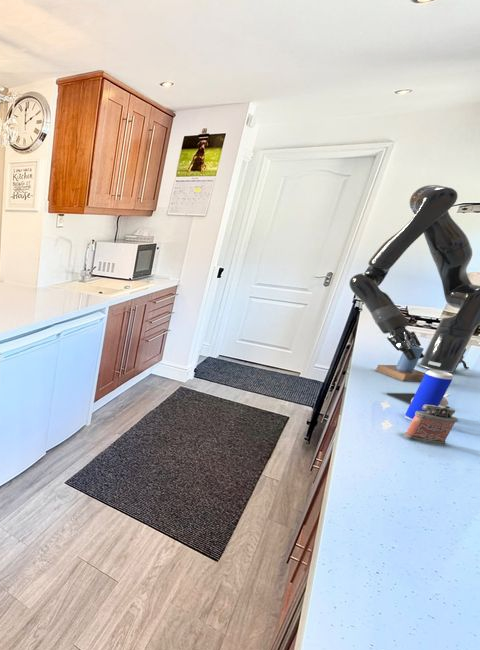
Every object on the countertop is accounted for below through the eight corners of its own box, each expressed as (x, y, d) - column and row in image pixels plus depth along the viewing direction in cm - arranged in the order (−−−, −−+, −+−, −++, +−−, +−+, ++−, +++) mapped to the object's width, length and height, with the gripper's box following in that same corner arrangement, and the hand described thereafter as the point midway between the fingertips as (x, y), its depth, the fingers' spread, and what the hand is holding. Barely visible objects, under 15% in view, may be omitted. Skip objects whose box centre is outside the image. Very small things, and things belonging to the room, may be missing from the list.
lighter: (438, 439, 107) (456, 406, 103) (447, 446, 104) (467, 412, 100) (400, 433, 109) (417, 400, 105) (408, 439, 106) (425, 406, 102)
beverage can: (417, 416, 119) (441, 369, 114) (434, 424, 115) (460, 376, 109) (399, 414, 120) (422, 368, 114) (415, 423, 115) (439, 375, 110)
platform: (399, 371, 156) (402, 365, 155) (428, 381, 147) (431, 375, 146) (375, 370, 155) (378, 364, 154) (402, 381, 146) (405, 374, 145)
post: (403, 367, 152) (413, 345, 149) (416, 372, 148) (427, 349, 145) (391, 367, 152) (402, 344, 149) (404, 372, 148) (415, 349, 144)
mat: (414, 394, 135) (414, 393, 135) (449, 408, 126) (449, 407, 125) (386, 394, 134) (387, 393, 134) (419, 408, 125) (420, 406, 125)
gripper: (390, 314, 147) (419, 356, 141) (411, 312, 152) (440, 352, 146) (367, 324, 153) (393, 365, 147) (387, 322, 158) (414, 361, 152)
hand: (416, 358), depth 147 cm, fingers closed on post, 4 cm apart
